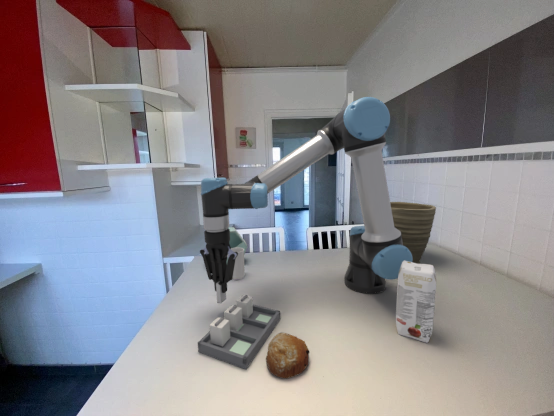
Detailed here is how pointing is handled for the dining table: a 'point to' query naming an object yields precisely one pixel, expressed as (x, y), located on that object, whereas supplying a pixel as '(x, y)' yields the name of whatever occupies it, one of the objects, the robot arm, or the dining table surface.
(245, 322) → the switch bank
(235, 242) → the planter
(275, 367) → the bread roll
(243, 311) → the tab far
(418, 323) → the juice carton
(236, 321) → the tab mid
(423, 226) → the vase
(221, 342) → the tab near
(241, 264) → the mug
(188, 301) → the dining table surface
